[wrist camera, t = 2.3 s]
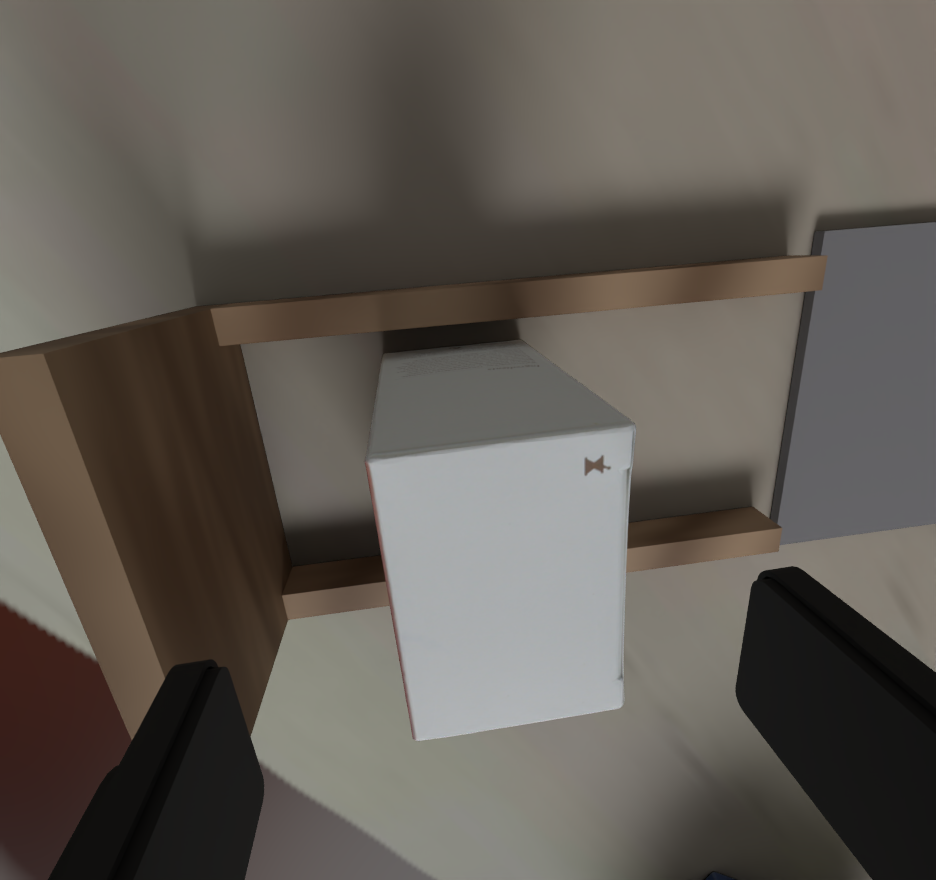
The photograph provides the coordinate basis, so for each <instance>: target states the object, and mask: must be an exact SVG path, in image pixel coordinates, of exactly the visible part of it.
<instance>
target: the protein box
mask: <svg viewBox="0 0 936 880" xmlns="http://www.w3.org/2000/svg"><path fill="white" fill-rule="evenodd" d="M705 880H736V879H733V878H730V877H727V876H724V875H722V874H719V873H716V872H712V873H711V874H710V875H709V876H708V877H707V878H706V879H705Z"/></svg>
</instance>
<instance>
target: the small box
mask: <svg viewBox="0 0 936 880" xmlns="http://www.w3.org/2000/svg"><path fill="white" fill-rule="evenodd" d="M635 436H636V425H635V423H634V422H632V421H631V420H630V419H629V418H627V417H626V416H624V415H623V414H622V413H620V412H619V411H618V410H616V409H615V408H614V407H612V406H611V405H610V404H608V403H607V402H606V401H604V400H603V399H602V398H600V397H599V396H598V395H596V394H595V393H593V392H592V391H591V390H589V389H588V388H587V387H585V386H584V385H583V384H581V383H580V382H578V381H577V380H576V379H574V378H573V377H571V376H570V375H569V374H567V373H566V372H565V371H563V370H562V369H561V368H559V367H558V366H556V365H555V364H554V363H552V362H551V361H550V360H548V359H547V358H546V357H544V356H543V355H542V354H540V353H539V352H537V351H536V350H535V349H533V348H532V347H531V346H529V345H528V344H527V343H525V342H524V341H523V340H512V341H502V342H492V343H482V344H472V345H462V346H452V347H442V348H432V349H422V350H413V351H404V352H394V353H385V354H383V356H382V361H381V366H380V373H379V378H378V385H377V391H376V397H375V404H374V410H373V416H372V423H371V429H370V435H369V441H368V447H367V452H366V457H365V465H366V470H367V476H368V481H369V487H370V493H371V499H372V504H373V510H374V515H375V521H376V527H377V533H378V539H379V545H380V551H381V557H382V563H383V569H384V575H385V580H386V586H387V592H388V598H389V603H390V609H391V615H392V620H393V626H394V632H395V638H396V644H397V649H398V655H399V661H400V666H401V672H402V678H403V683H404V689H405V696H406V702H407V707H408V712H409V718H410V724H411V730H412V737H413V739H414V740H416V741H421V740H428V739H436V738H444V737H450V736H457V735H463V734H469V733H475V732H481V731H486V730H492V729H499V728H505V727H511V726H517V725H523V724H529V723H535V722H541V721H547V720H553V719H559V718H565V717H571V716H577V715H583V714H590V713H595V712H601V711H607V710H613V709H618V708H620V707H622V706H623V704H624V672H623V656H624V616H625V588H626V561H627V538H628V515H629V500H630V484H631V473H632V467H633V457H634V445H635Z"/></svg>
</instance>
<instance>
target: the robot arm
mask: <svg viewBox="0 0 936 880" xmlns="http://www.w3.org/2000/svg"><path fill="white" fill-rule="evenodd" d="M736 697H737V700H738V703H739V705H740V707H741V708H742V710H743V711H744V713H745V714H746V715H747V717H748V718H749V719H750V721H751V722H752V723H753V725H754V726H755V727H756V728H757V730H758V731H759V732H760V734H761V735H762V736H763V738H764V739H765V740H766V741H767V743H768V744H769V745H770V747H771V748H772V749H773V751H774V752H775V753H776V754H777V756H778V757H779V758H780V760H781V761H782V762H783V764H784V765H785V766H786V768H787V769H788V770H789V771H790V773H791V774H792V775H793V777H794V778H795V779H796V781H797V782H798V783H799V784H800V786H801V787H802V788H803V790H804V791H805V792H806V794H807V795H808V796H809V797H810V799H811V800H812V801H813V803H814V804H815V805H816V807H817V808H818V809H819V810H820V812H821V813H822V814H823V816H824V817H825V818H826V820H827V821H828V822H829V824H830V825H831V826H832V827H833V829H834V830H835V831H836V833H837V834H838V835H839V837H840V838H841V839H842V840H843V842H844V843H845V844H846V846H847V847H848V848H849V850H850V851H851V852H852V853H853V855H854V856H855V857H856V859H857V860H858V861H859V863H860V864H861V865H862V866H863V868H864V869H865V870H866V872H867V873H868V874H869V876H870V877H871V878H872V879H873V880H936V672H934V671H933V670H932V669H930V668H929V667H928V666H927V665H925V664H924V663H923V662H921V661H920V660H919V659H917V658H916V657H915V656H914V655H912V654H911V653H910V652H908V651H907V650H906V649H904V648H903V647H902V646H901V645H899V644H898V643H897V642H895V641H894V640H893V639H892V638H890V637H889V636H888V635H886V634H885V633H884V632H882V631H881V630H880V629H879V628H877V627H876V626H875V625H873V624H872V623H871V622H869V621H868V620H867V619H866V618H864V617H863V616H862V615H860V614H859V613H858V612H856V611H855V610H854V609H853V608H851V607H850V606H849V605H847V604H846V603H845V602H843V601H842V600H841V599H840V598H838V597H837V596H836V595H834V594H833V593H832V592H831V591H829V590H828V589H827V588H825V587H824V586H823V585H821V584H820V583H819V582H818V581H816V580H815V579H814V578H812V577H811V576H810V575H808V574H807V573H806V572H805V571H803V570H802V569H800V568H798V567H793V566H791V567H785V568H779V569H772V570H766V571H763V572H761V573H760V574H759V576H758V579H757V581H754V582H753V584H752V587H751V592H750V599H749V605H748V611H747V618H746V624H745V631H744V637H743V643H742V650H741V656H740V663H739V669H738V675H737V682H736ZM263 796H264V779H263V775H262V772H261V769H260V766H259V762H258V759H257V756H256V753H255V750H254V747H253V744H252V741H251V737H250V734H249V731H248V728H247V725H246V722H245V719H244V716H243V713H242V709H241V706H240V703H239V700H238V697H237V694H236V691H235V688H234V684H233V681H232V678H231V675H230V672H229V670H228V668H227V667H218V665H217V663H216V662H215V661H214V660H213V659H209V660H202V661H196V662H190V663H184V664H177V665H175V666H173V667H172V668H171V669H170V671H169V672H168V674H167V676H166V678H165V680H164V681H163V683H162V685H161V687H160V689H159V691H158V693H157V695H156V697H155V698H154V700H153V702H152V704H151V706H150V708H149V710H148V712H147V713H146V715H145V717H144V719H143V721H142V723H141V725H140V727H139V728H138V730H137V732H136V734H135V736H134V738H133V740H132V742H131V744H130V745H129V747H128V749H127V751H126V753H125V755H124V757H123V759H122V761H121V762H120V764H119V765H118V766H116V767H114V768H113V769H112V770H111V771H110V772H109V773H108V774H107V775H106V777H105V778H104V780H103V781H102V782H101V784H100V786H99V787H98V789H97V791H96V793H95V795H94V796H93V799H92V800H91V802H90V804H89V806H88V808H87V809H86V811H85V813H84V815H83V817H82V818H81V820H80V822H79V824H78V826H77V827H76V830H75V831H74V833H73V835H72V837H71V838H70V840H69V842H68V844H67V846H66V848H65V849H64V851H63V853H62V855H61V857H60V858H59V860H58V862H57V864H56V866H55V868H54V870H53V871H52V873H51V875H50V877H49V879H48V880H245V875H246V871H247V867H248V863H249V858H250V854H251V850H252V846H253V841H254V837H255V833H256V828H257V824H258V820H259V816H260V811H261V807H262V803H263Z"/></svg>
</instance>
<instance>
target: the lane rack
mask: <svg viewBox="0 0 936 880" xmlns="http://www.w3.org/2000/svg"><path fill="white" fill-rule="evenodd" d="M827 257H828V255H804V256H777V257H765V258H754V259H742V260H730V261H719V262H707V263H696V264H684V265H672V266H661V267H649V268H637V269H626V270H614V271H603V272H591V273H579V274H568V275H556V276H545V277H533V278H521V279H510V280H498V281H486V282H475V283H463V284H452V285H440V286H428V287H417V288H405V289H393V290H382V291H370V292H359V293H347V294H335V295H324V296H312V297H300V298H289V299H277V300H266V301H254V302H242V303H231V304H219V305H207V306H196V307H192V308H187V309H183V310H179V311H175V312H171V313H166V314H162V315H158V316H154V317H150V318H145V319H141V320H137V321H133V322H129V323H124V324H120V325H116V326H112V327H108V328H103V329H99V330H95V331H91V332H86V333H82V334H78V335H74V336H70V337H65V338H61V339H57V340H53V341H49V342H44V343H40V344H36V345H32V346H28V347H23V348H19V349H15V350H11V351H7V352H2V353H0V435H1V437H2V439H3V442H4V444H5V446H6V449H7V451H8V453H9V456H10V458H11V460H12V463H13V465H14V467H15V470H16V472H17V474H18V477H19V479H20V481H21V484H22V486H23V488H24V491H25V493H26V495H27V498H28V500H29V502H30V504H31V507H32V509H33V511H34V514H35V516H36V518H37V521H38V523H39V525H40V528H41V530H42V532H43V535H44V537H45V539H46V542H47V544H48V546H49V549H50V551H51V553H52V556H53V558H54V560H55V563H56V565H57V567H58V570H59V572H60V574H61V577H62V579H63V581H64V584H65V586H66V588H67V591H68V593H69V595H70V597H71V600H72V602H73V604H74V607H75V609H76V611H77V614H78V616H79V618H80V621H81V623H82V625H83V628H84V630H85V632H86V635H87V637H88V639H89V642H90V644H91V646H92V649H93V651H94V653H95V656H96V658H97V660H98V663H99V665H100V667H101V669H102V672H103V674H104V677H105V679H106V681H107V683H108V686H109V688H110V690H111V693H112V695H113V697H114V700H115V702H116V704H117V707H118V709H119V711H120V714H121V716H122V718H123V721H124V723H125V725H126V728H127V730H128V732H129V735H130V737H131V739H132V740H133V738H134V736H135V734H136V732H137V730H138V728H139V727H140V725H141V723H142V721H143V719H144V717H145V715H146V713H147V712H148V710H149V708H150V706H151V704H152V702H153V700H154V698H155V697H156V695H157V693H158V691H159V689H160V687H161V685H162V683H163V681H164V680H165V678H166V676H167V674H168V672H169V671H170V669H171V668H172V667H173V666H175V665H177V664H184V663H190V662H196V661H202V660H209V659H213V660H214V661H215V662H216V663H217V665H218V667H227V668H228V670H229V672H230V675H231V678H232V681H233V684H234V688H235V691H236V694H237V697H238V700H239V703H240V706H241V709H242V713H243V716H244V719H245V722H246V725H247V728H248V731H249V734H250V736H251V733H252V730H253V727H254V724H255V721H256V718H257V715H258V711H259V708H260V705H261V702H262V699H263V696H264V693H265V690H266V687H267V683H268V680H269V677H270V674H271V671H272V668H273V665H274V662H275V659H276V655H277V652H278V649H279V646H280V643H281V640H282V637H283V634H284V630H285V627H286V624H287V621H288V620H290V619H297V618H304V617H312V616H319V615H326V614H333V613H340V612H347V611H355V610H362V609H369V608H376V607H383V606H390V603H389V598H388V592H387V586H386V580H385V575H384V569H383V563H382V557H381V555H379V556H371V557H363V558H356V559H348V560H340V561H333V562H325V563H317V564H310V565H302V566H294V567H292V563H291V559H290V555H289V550H288V546H287V542H286V538H285V533H284V529H283V525H282V521H281V516H280V512H279V508H278V504H277V499H276V495H275V491H274V487H273V482H272V478H271V474H270V470H269V465H268V461H267V457H266V453H265V448H264V444H263V440H262V436H261V431H260V427H259V423H258V419H257V414H256V410H255V406H254V402H253V397H252V393H251V389H250V385H249V380H248V376H247V372H246V367H245V363H244V359H243V355H242V350H241V346H240V344H248V343H259V342H270V341H280V340H291V339H302V338H313V337H323V336H334V335H345V334H356V333H367V332H377V331H388V330H399V329H410V328H420V327H431V326H442V325H453V324H463V323H474V322H485V321H496V320H507V319H517V318H528V317H539V316H550V315H560V314H571V313H582V312H593V311H603V310H614V309H625V308H636V307H646V306H657V305H668V304H679V303H690V302H700V301H711V300H722V299H733V298H743V297H754V296H765V295H776V294H786V293H797V292H808V291H819V290H822V287H823V281H824V275H825V269H826V263H827ZM781 534H782V527H780V526H779V525H778V524H776V523H775V522H773V521H772V520H771V519H769V518H768V517H767V516H765V515H764V514H762V513H761V512H760V511H758V510H757V509H755V508H754V507H746V508H738V509H731V510H723V511H715V512H708V513H700V514H693V515H685V516H677V517H670V518H662V519H654V520H647V521H639V522H631V523H628V538H627V561H626V573H627V572H634V571H642V570H649V569H656V568H663V567H670V566H678V565H685V564H692V563H699V562H706V561H713V560H721V559H728V558H735V557H742V556H749V555H757V554H764V553H771V552H778V551H779V546H780V540H781Z"/></svg>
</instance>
